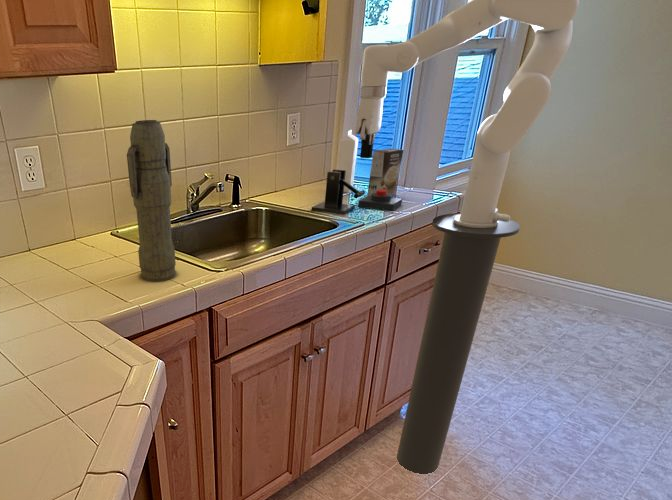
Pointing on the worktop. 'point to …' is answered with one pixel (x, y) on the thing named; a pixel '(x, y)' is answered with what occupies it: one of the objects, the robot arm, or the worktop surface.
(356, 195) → the lever
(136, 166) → the grey stone statue
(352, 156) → the milk
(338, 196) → the black lever stand
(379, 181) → the coffee box
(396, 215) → the worktop surface
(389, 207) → the control block
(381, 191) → the setting button
